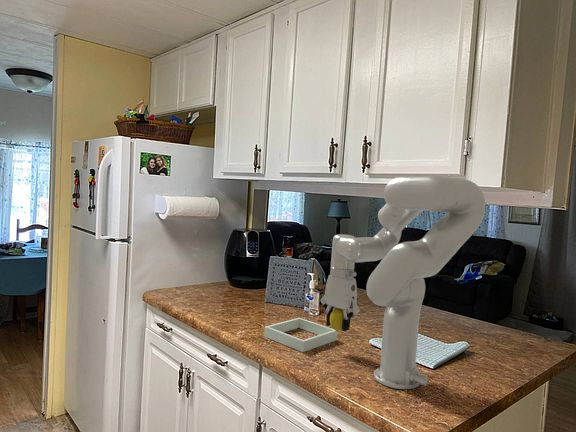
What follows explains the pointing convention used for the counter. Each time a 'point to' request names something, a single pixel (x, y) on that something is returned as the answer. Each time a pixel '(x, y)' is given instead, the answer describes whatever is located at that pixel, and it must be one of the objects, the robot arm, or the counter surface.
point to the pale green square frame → (276, 334)
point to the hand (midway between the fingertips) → (337, 327)
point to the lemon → (336, 319)
